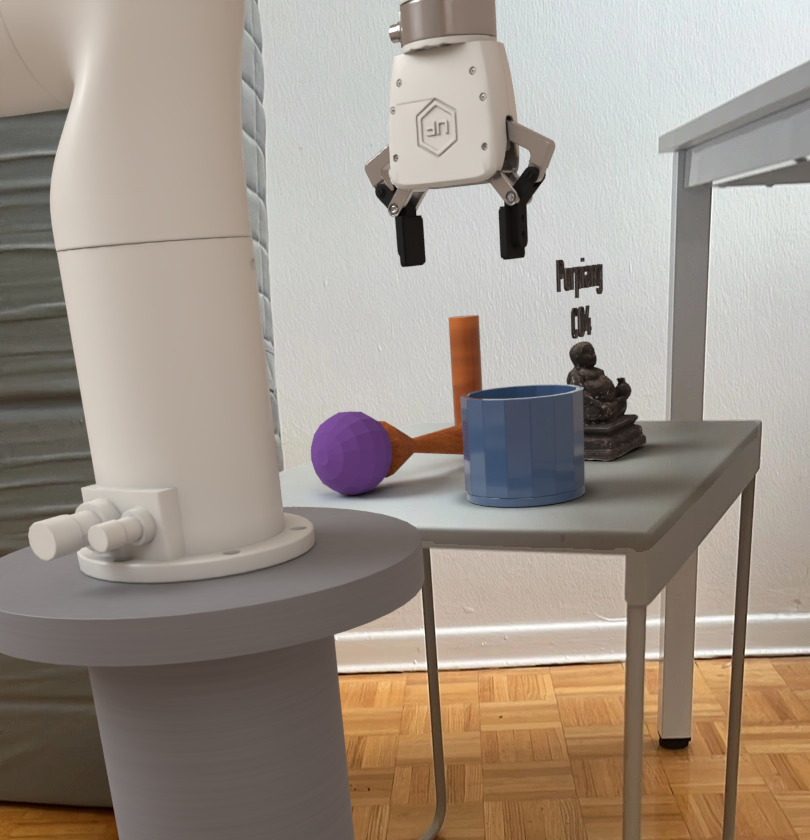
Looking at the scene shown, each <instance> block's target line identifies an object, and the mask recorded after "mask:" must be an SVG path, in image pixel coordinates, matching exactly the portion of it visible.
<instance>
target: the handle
mask: <svg viewBox="0 0 810 840" xmlns="http://www.w3.org/2000/svg"><path fill="white" fill-rule="evenodd" d="M447 319H448V335H449V336H448V337H449V351H450V353H449V354H450V368H451V369H450V370H451V386H452V403H453V420H454V421H453V422H454V426H456V425H459V424H462V417H461V399H460V397H461V396H462V395H463V394H465V393H469V392H472V391H477V390H483V372H482V355H481V352H482V351H481V333H480V331H481V329H480V315H479V314H470V315H467V314H466V315H457V316H449V317H448V318H447Z"/></svg>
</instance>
